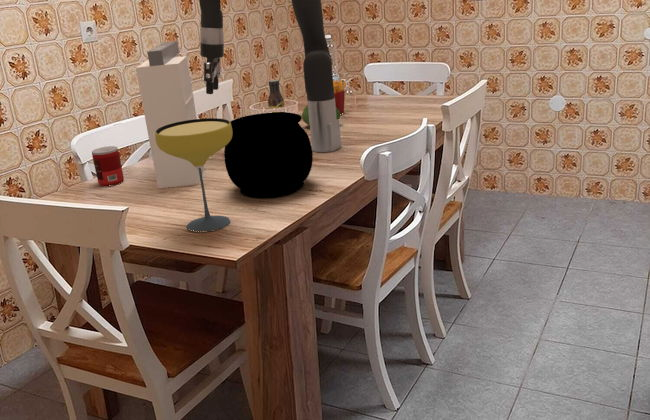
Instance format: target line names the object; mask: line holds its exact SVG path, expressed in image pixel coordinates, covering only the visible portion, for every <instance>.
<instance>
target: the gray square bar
mask: <svg viewBox="0 0 650 420" xmlns="http://www.w3.org/2000/svg"><path fill="white" fill-rule="evenodd" d="M178 42H179V41H178V40H170V41H169V40H168V41H167V40H166V41H164V42H162V43H160V44H158V45H156V46H155V47H153V48H150V49H149V50H148V51H147V57H148V58H147V60H149V65H150V66H158V65H165V64H166V63H167V62H168V61H170V60H171V59H172V58H174V57H177V55H179V54H180V48H179V43H178Z"/></svg>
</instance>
